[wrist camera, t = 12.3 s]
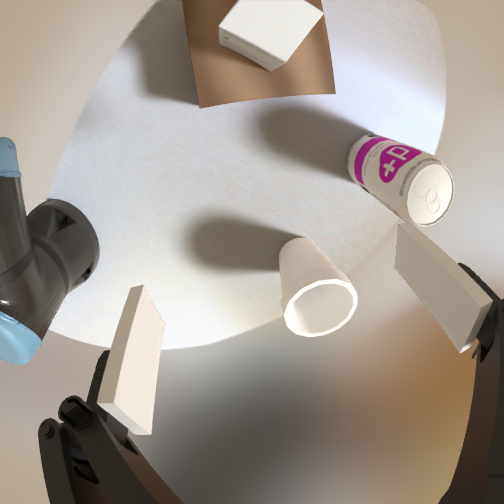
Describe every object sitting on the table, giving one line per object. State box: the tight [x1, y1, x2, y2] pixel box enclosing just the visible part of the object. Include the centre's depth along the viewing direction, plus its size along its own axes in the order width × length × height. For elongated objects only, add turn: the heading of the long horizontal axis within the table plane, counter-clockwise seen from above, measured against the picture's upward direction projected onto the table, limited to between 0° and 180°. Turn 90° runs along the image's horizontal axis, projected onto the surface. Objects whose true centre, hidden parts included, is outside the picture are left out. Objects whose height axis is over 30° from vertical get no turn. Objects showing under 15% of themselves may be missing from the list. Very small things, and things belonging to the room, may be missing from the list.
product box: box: [218, 0, 324, 71], centre depth 18 cm, size 6×6×7 cm
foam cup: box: [279, 237, 357, 337], centre depth 38 cm, size 10×9×13 cm
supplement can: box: [347, 134, 454, 226], centre depth 30 cm, size 8×8×15 cm
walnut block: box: [182, 0, 336, 108], centre depth 24 cm, size 14×14×8 cm
